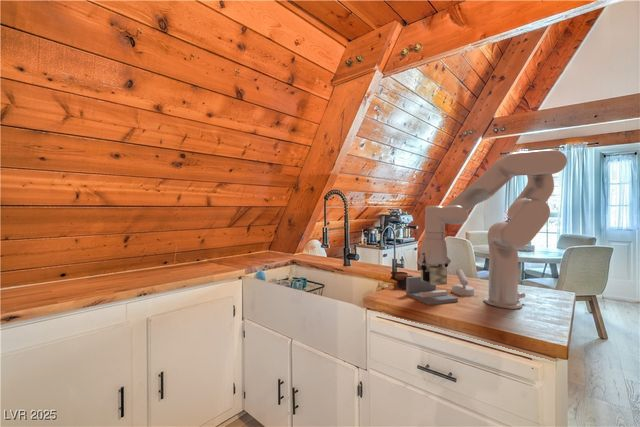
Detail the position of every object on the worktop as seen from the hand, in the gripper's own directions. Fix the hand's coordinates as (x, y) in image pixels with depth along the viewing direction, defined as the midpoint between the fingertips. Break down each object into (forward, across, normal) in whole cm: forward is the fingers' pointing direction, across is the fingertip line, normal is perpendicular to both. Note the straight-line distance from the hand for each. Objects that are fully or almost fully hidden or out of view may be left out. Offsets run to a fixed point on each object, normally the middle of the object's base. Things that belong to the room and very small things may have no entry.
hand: (433, 280), depth 117 cm
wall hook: (+8, -19, -4) cm, 21 cm away
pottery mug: (+8, +1, -19) cm, 21 cm away
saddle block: (+1, 0, 0) cm, 1 cm away
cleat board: (+8, 0, -1) cm, 8 cm away
